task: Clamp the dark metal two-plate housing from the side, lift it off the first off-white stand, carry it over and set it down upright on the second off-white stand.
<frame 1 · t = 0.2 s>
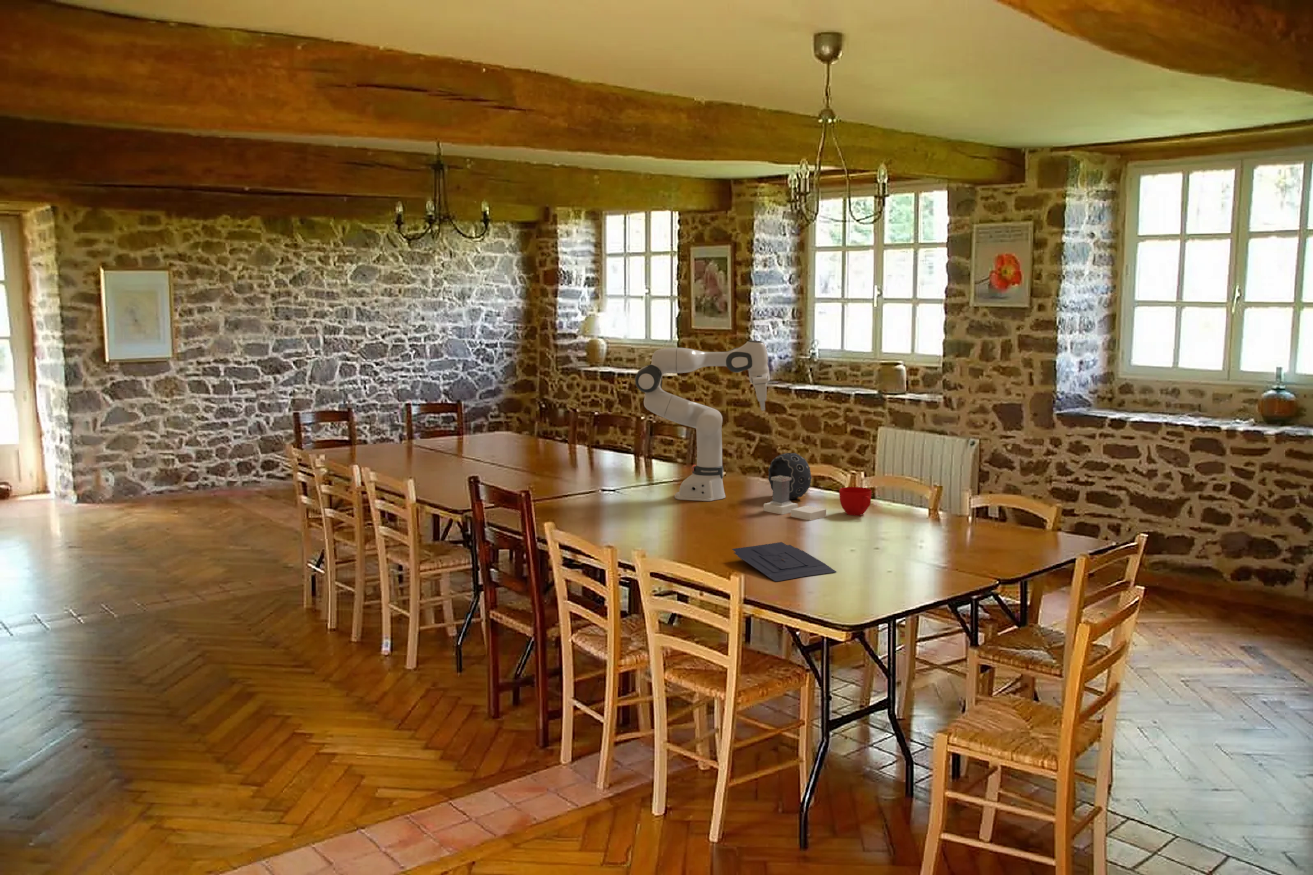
hand: (763, 408, 456), 39 cm above the table, tool pointing down, fingers open, 8 cm apart
dark grey rounded piece: (789, 498, 460), on the table
ceramic cup: (857, 515, 427), on the table
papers: (780, 567, 350), on the table
stand b: (808, 516, 424), on the table
housing: (780, 503, 435), point 3 cm above the table, touching stand a
stand a: (780, 510, 435), on the table
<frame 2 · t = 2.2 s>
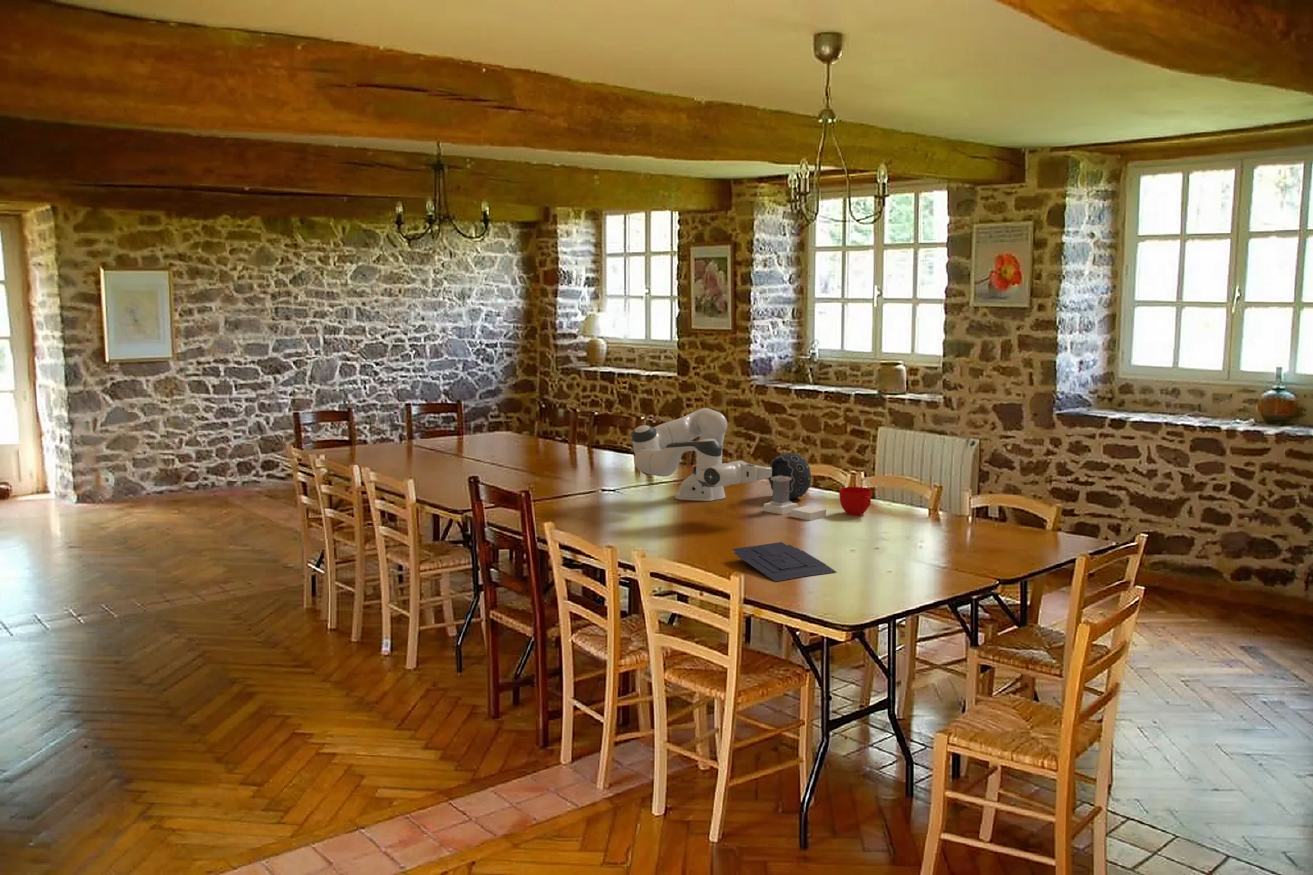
hand: (761, 467, 424), 20 cm above the table, tool horizontal, fingers open, 8 cm apart
nothing on the table moved.
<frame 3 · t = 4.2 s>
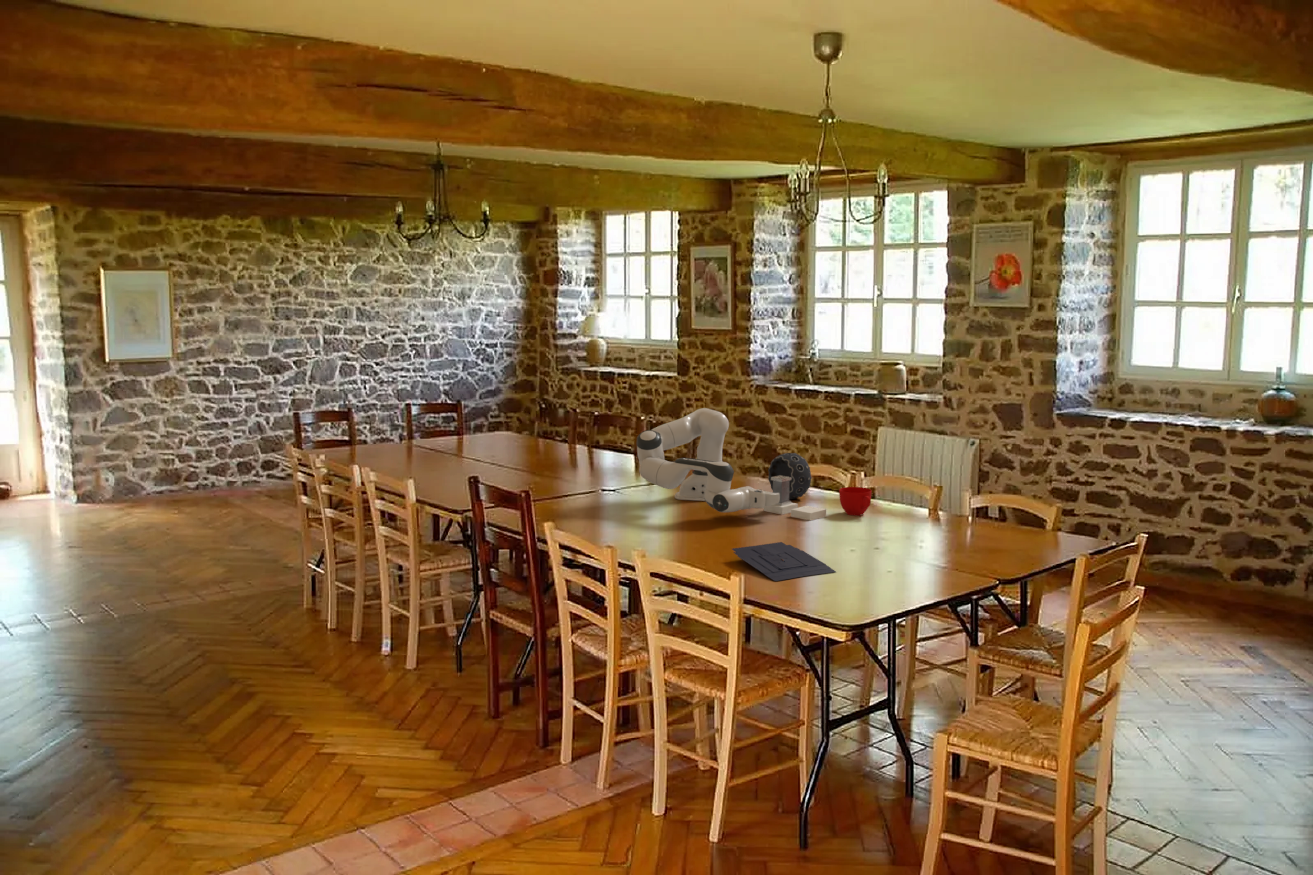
hand: (769, 492, 428), 9 cm above the table, tool horizontal, fingers open, 8 cm apart
nothing on the table moved.
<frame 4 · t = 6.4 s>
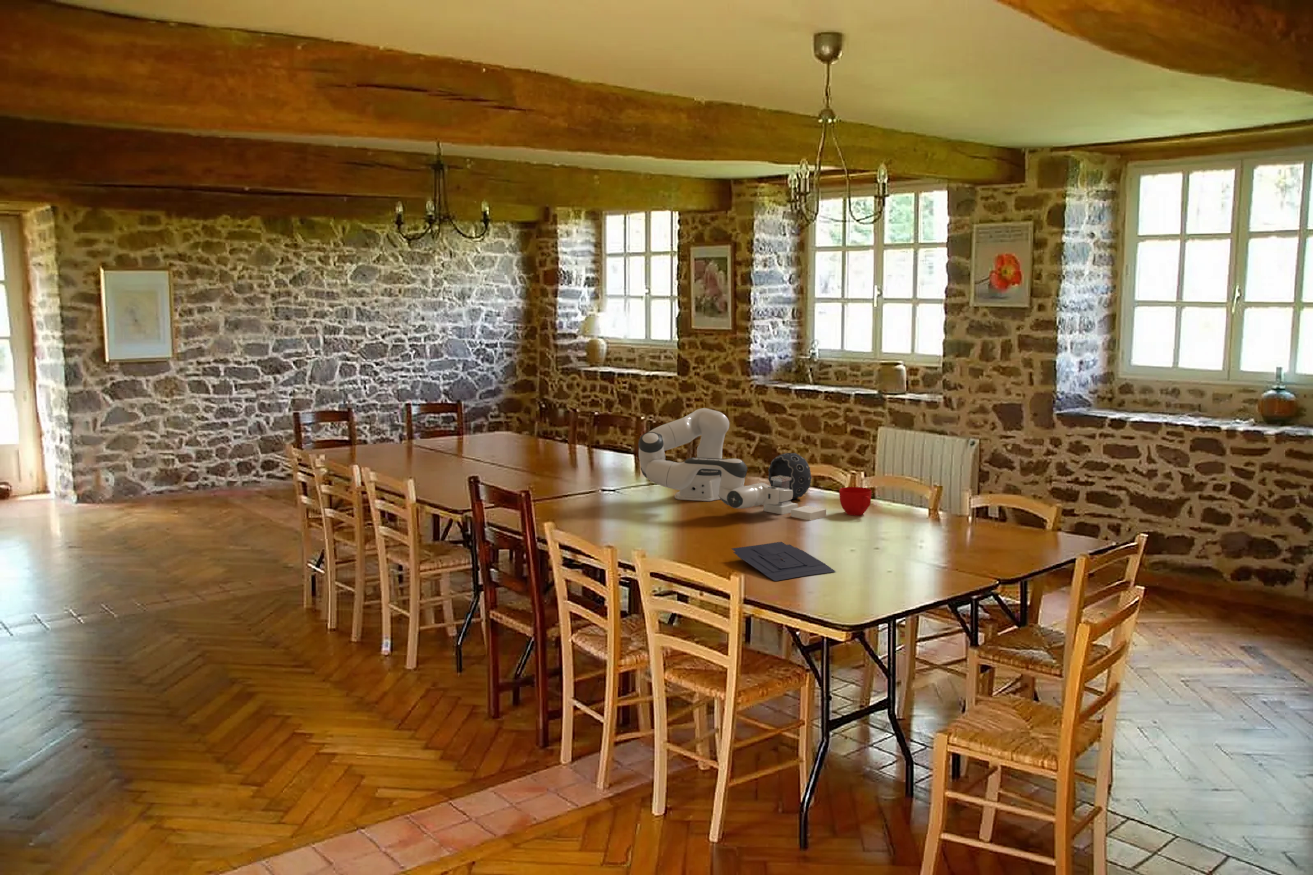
hand: (782, 489, 435), 9 cm above the table, tool horizontal, fingers closed on housing, 5 cm apart
housing: (780, 503, 435), point 3 cm above the table, touching gripper, stand a
everything else where it was.
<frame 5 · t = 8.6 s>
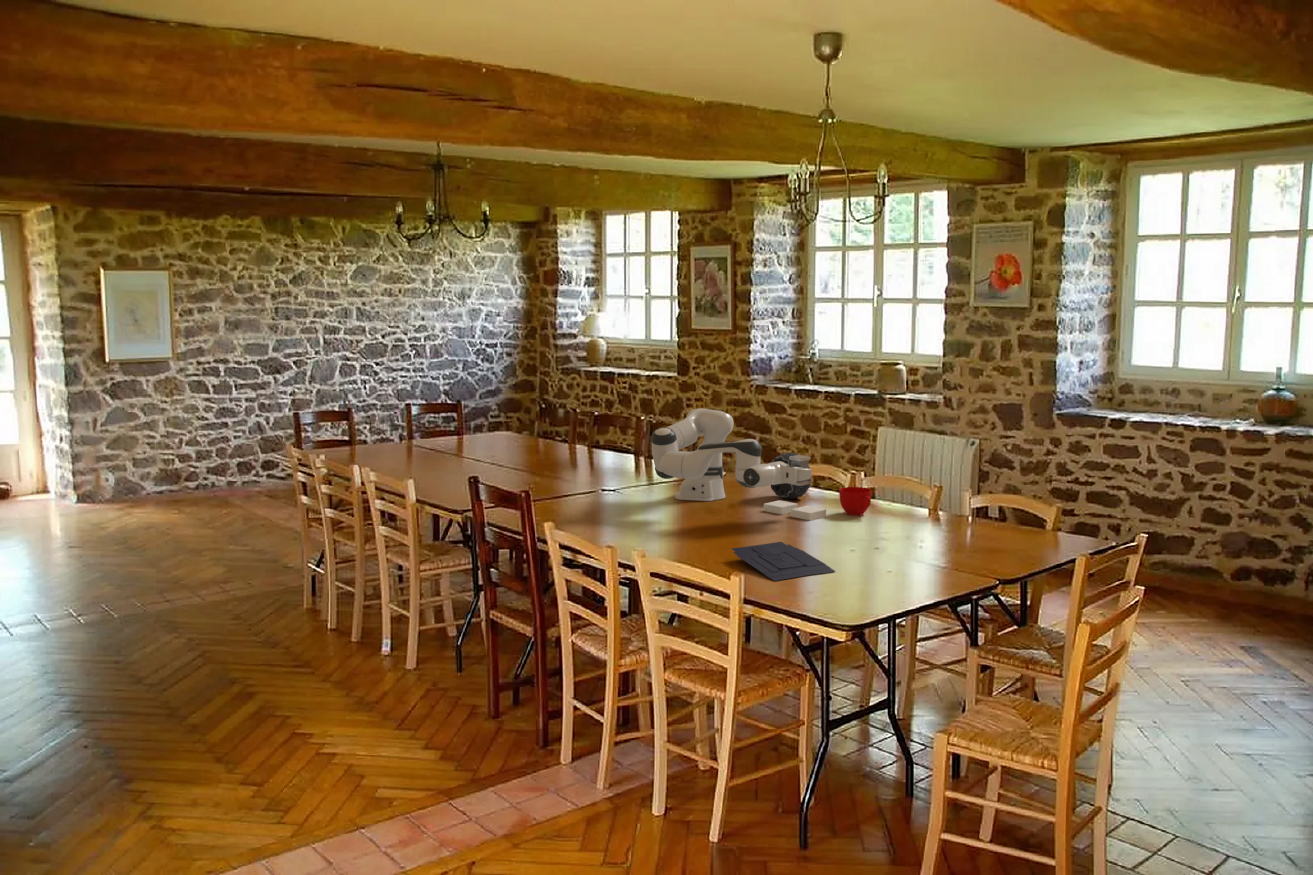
hand: (801, 468, 423), 19 cm above the table, tool horizontal, fingers closed on housing, 5 cm apart
housing: (799, 484, 423), point 13 cm above the table, touching gripper
everything else where it was.
when the fingers open (10 cm above the table, at t = 11.1 s): housing drops 1 cm, resting on stand b.
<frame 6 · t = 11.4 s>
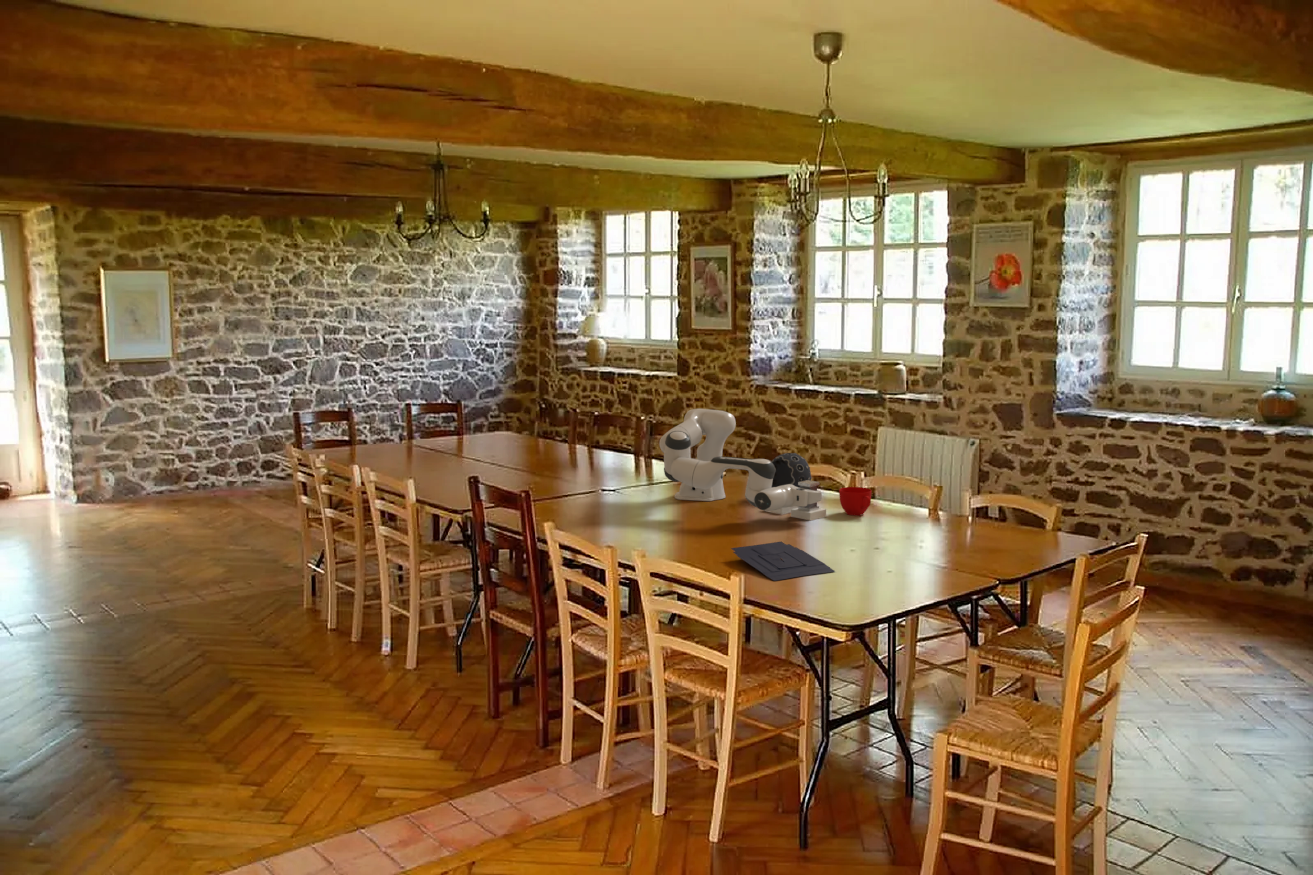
hand: (810, 490, 423), 10 cm above the table, tool horizontal, fingers open, 8 cm apart
housing: (808, 509, 424), point 3 cm above the table, touching stand b
everything else where it was.
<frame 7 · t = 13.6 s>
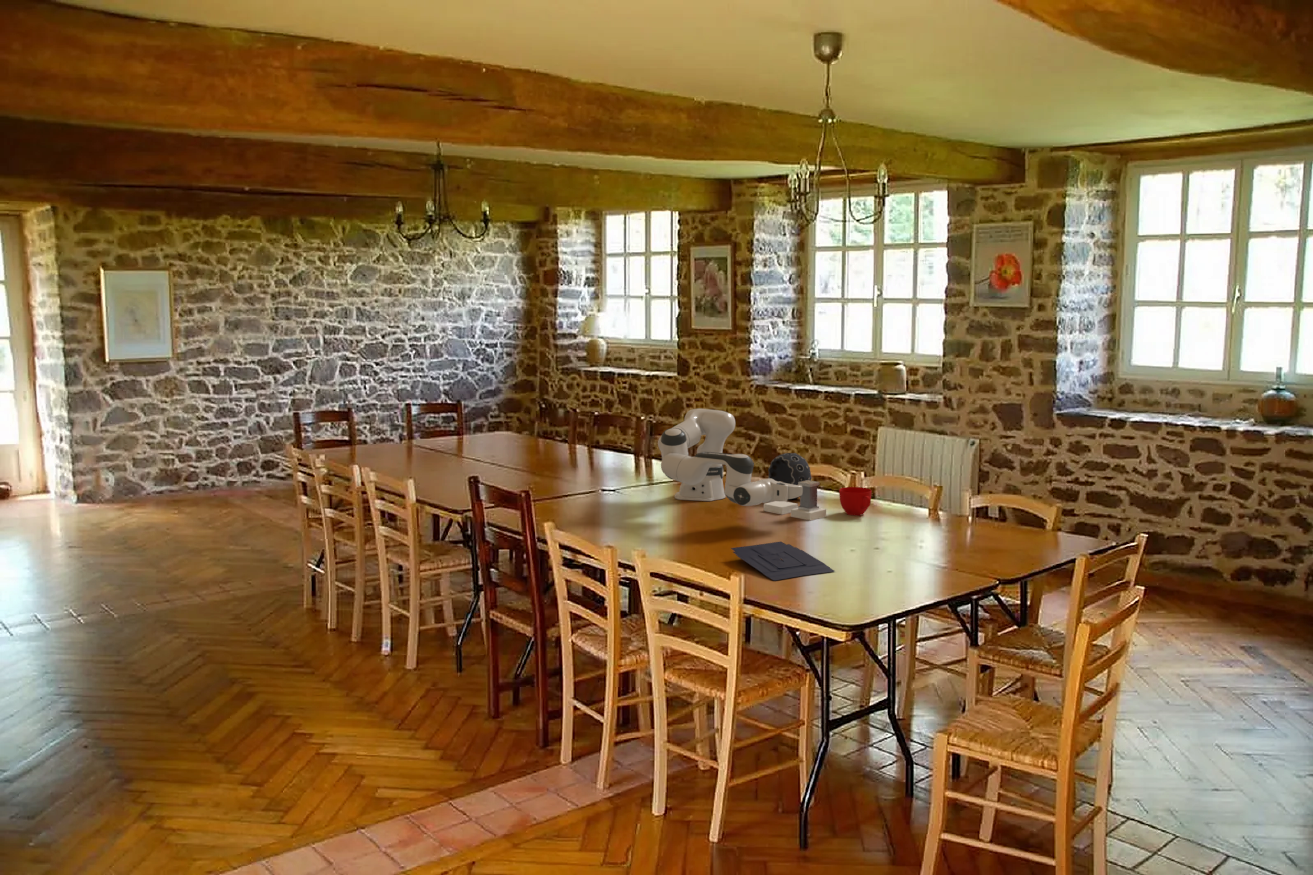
hand: (791, 485, 414), 15 cm above the table, tool horizontal, fingers open, 8 cm apart
nothing on the table moved.
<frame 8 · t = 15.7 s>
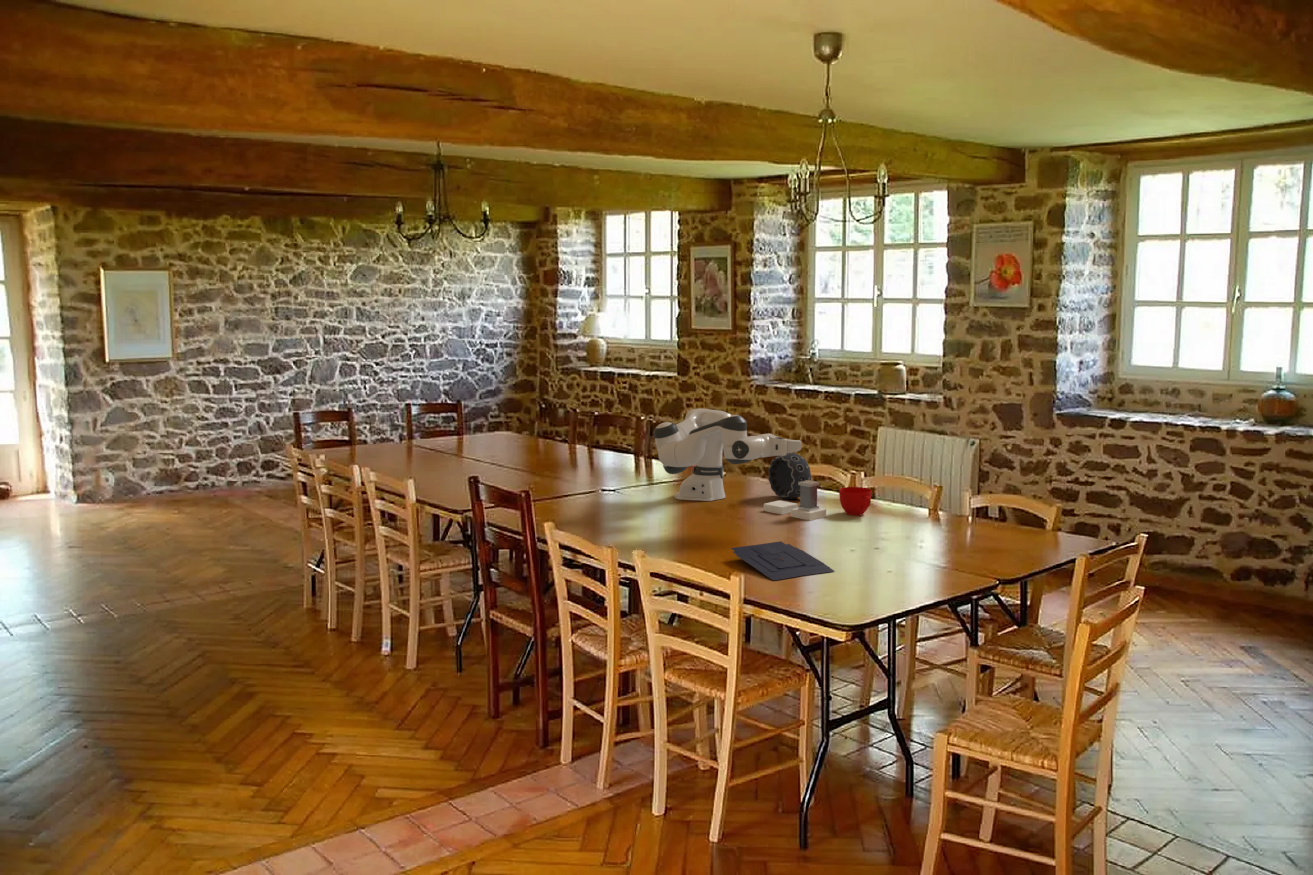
hand: (790, 441, 411), 32 cm above the table, tool horizontal, fingers open, 8 cm apart
at the end: housing inside the target area on the stand b (0.1 cm from its centre), point 3.0 cm above the stand b's base; housing tilted 0°; the gripper is holding nothing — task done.
